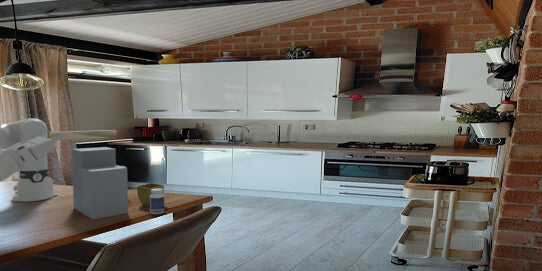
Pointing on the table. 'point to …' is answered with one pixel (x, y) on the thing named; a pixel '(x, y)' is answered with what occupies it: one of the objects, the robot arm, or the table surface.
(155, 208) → the pill bottle
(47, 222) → the table surface
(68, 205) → the table surface
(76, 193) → the stepped shelf
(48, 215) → the table surface
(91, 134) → the wooden rod
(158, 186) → the flower pot
